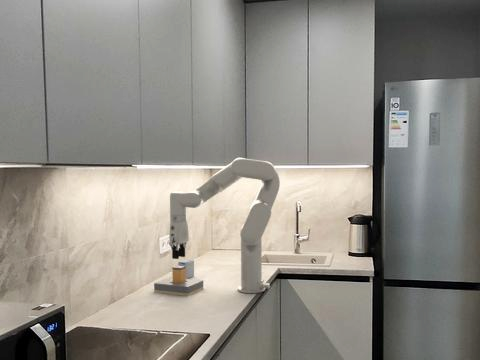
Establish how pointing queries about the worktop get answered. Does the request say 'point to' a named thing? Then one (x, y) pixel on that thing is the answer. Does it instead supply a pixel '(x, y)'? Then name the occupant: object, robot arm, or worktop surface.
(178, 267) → the plug
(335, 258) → the worktop surface
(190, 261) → the medicine box
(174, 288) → the socket block
